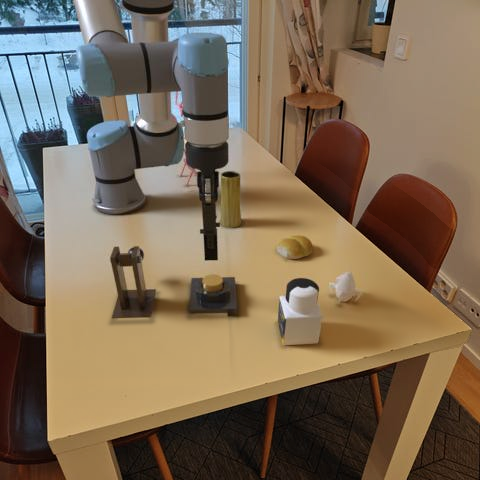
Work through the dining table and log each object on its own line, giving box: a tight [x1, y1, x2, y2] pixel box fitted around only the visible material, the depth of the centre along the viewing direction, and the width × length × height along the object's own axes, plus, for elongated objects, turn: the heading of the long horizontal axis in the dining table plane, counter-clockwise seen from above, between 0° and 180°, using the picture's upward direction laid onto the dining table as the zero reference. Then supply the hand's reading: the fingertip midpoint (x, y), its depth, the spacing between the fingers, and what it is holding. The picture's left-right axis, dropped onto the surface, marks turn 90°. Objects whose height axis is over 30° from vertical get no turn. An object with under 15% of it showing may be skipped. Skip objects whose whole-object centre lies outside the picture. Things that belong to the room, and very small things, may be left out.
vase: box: [219, 170, 242, 229], centre depth 120 cm, size 6×6×14 cm
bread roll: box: [276, 234, 314, 260], centre depth 111 cm, size 8×9×4 cm
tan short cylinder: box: [202, 273, 223, 292], centre depth 93 cm, size 4×4×2 cm
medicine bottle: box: [277, 277, 323, 346], centre depth 84 cm, size 7×7×12 cm
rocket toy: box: [328, 270, 363, 305], centre depth 94 cm, size 5×5×8 cm
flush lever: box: [119, 246, 145, 268], centre depth 91 cm, size 13×4×4 cm, turn 3°
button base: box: [188, 276, 238, 317], centre depth 95 cm, size 12×10×4 cm
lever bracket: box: [109, 245, 156, 319], centre depth 89 cm, size 10×8×14 cm
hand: (211, 258), depth 90 cm, fingers closed
